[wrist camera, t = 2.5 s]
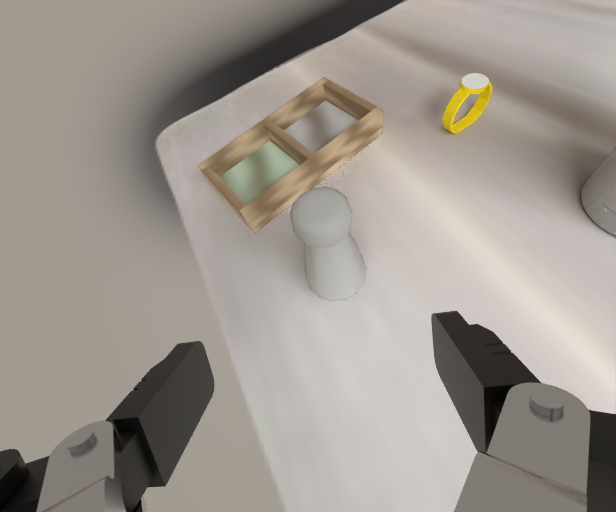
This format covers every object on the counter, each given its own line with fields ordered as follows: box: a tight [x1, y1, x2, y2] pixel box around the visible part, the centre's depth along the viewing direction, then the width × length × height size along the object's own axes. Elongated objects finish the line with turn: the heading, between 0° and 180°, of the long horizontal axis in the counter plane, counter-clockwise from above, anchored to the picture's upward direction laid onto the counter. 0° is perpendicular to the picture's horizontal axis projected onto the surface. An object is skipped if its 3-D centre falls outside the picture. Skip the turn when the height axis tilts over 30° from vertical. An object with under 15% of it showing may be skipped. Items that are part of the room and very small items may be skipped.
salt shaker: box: [290, 187, 366, 301], centre depth 27 cm, size 6×6×13 cm
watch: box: [442, 73, 493, 134], centre depth 36 cm, size 6×3×6 cm, turn 122°
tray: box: [198, 77, 383, 233], centre depth 40 cm, size 21×11×4 cm, turn 129°
